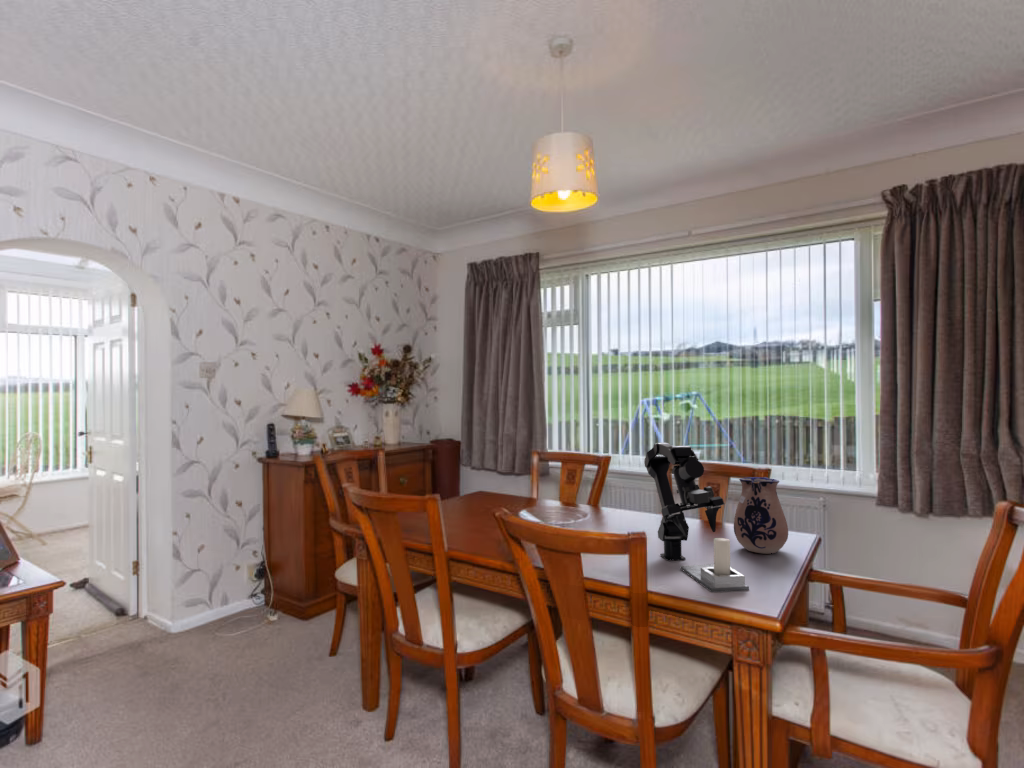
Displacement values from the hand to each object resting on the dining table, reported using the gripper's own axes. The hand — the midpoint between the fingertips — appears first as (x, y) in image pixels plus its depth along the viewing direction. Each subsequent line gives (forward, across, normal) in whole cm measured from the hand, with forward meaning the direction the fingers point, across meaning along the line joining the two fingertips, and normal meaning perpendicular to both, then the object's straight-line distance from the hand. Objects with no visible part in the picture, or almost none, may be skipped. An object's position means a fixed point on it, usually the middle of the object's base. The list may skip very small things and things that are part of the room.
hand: (700, 534), depth 169 cm
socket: (+13, 0, 0) cm, 13 cm away
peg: (+14, 0, -6) cm, 15 cm away
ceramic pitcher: (+8, +33, +25) cm, 42 cm away
